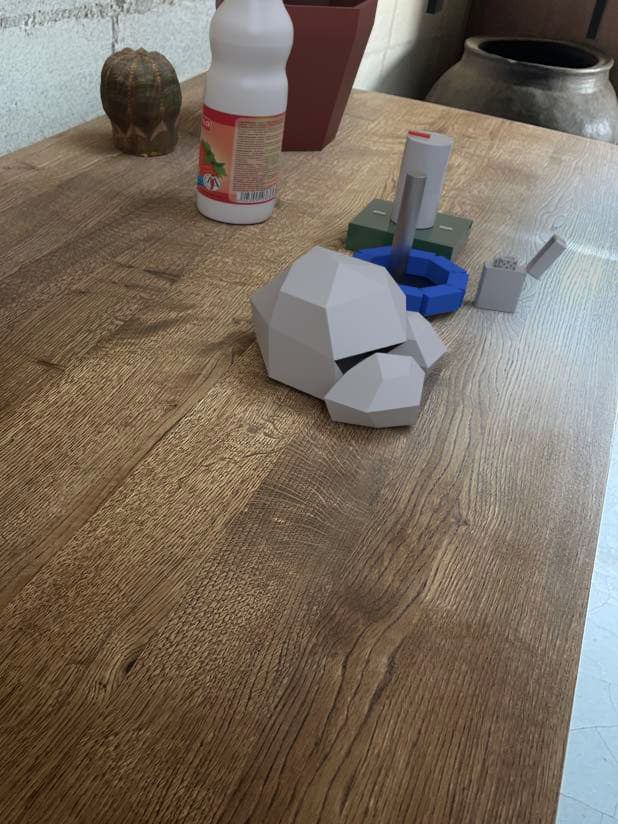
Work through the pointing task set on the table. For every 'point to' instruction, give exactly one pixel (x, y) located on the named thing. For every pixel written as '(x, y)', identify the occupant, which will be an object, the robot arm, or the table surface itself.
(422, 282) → the peg stand
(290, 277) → the rock
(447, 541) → the table surface
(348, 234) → the panel
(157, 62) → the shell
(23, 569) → the table surface
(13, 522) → the table surface
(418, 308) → the ring
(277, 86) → the fruit juice
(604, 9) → the robot arm
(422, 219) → the tap knob
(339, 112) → the bucket
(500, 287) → the lighter
